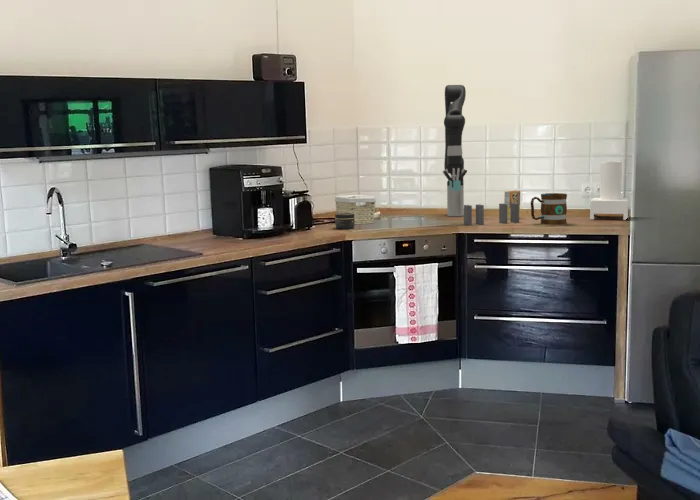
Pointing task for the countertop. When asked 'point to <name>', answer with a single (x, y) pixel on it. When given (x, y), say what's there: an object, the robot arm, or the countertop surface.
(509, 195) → the candy box
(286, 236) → the countertop surface
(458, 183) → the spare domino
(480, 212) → the domino
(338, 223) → the jar
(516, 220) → the domino
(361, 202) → the storage basket
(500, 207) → the domino
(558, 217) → the mug
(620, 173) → the paper towel holder
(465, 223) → the domino
